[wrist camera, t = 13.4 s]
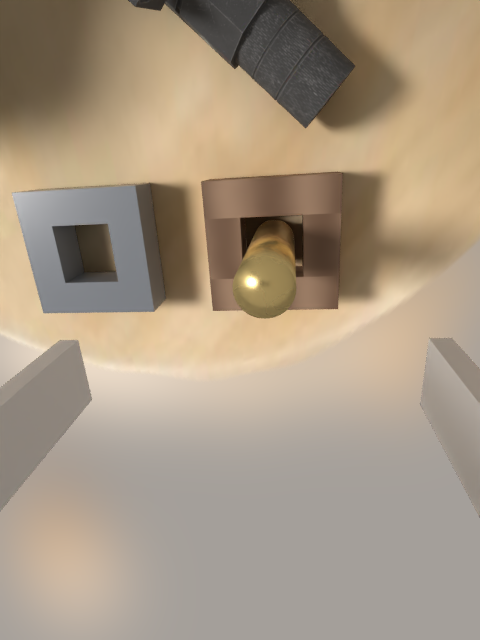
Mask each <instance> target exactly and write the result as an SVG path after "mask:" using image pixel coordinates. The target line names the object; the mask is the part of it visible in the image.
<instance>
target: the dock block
mask: <svg viewBox="0 0 480 640" xmlns="http://www.w3.org/2000/svg"><path fill="white" fill-rule="evenodd" d="M342 182H343V173H340V172H326V173H309V174H293V175H276V176H259V177H242V178H225V179H210V180H206V181H202V182H201V185H202V196H203V207H204V218H205V229H206V240H207V251H208V262H209V272H210V283H211V294H212V305H213V311H230V310H242V309H241V308H240V307H239V305H238V304H237V302H236V300H235V298H234V295H233V280H234V277H235V275H236V273H237V270H238V268H239V266H240V264H241V262H242V260H243V258H244V256H245V254H246V251H247V245H246V226H245V217H265V216H287V215H302V266H295V268H296V295H295V299H294V301H293V303H292V304H291V306H290V307H289V308H288V309H287V310H300V309H338V296H339V268H340V239H341V211H342Z"/></svg>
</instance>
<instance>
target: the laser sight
mask: <svg viewBox="0 0 480 640" xmlns="http://www.w3.org/2000/svg"><path fill="white" fill-rule="evenodd" d="M128 1H129V2H131V3H132V4H133V5H134V6H135V7H140V8H147V9H153V10H159V11H161V9H162V7H163V5H164V4H166V5H167V6H168V7H169V8H170V9H171V10H172V11H173V12H174V13H175V14H176V15H178V16H179V17H180V18H181V19H182V20H183V21H184V22H185V23H186V24H187V25H188V26H189V27H190V28H191V29H193V30H194V31H195V32H196V33H197V34H198V35H199V36H200V37H201V38H202V39H203V40H204V41H205V42H206V43H207V44H209V45H210V46H211V47H212V48H213V49H214V50H215V51H216V52H217V53H218V54H219V55H220V56H221V57H222V58H223V59H225V60H226V61H227V62H228V63H229V64H230V65H231V66H232V67H233V68H234V69H235V68H237V67H238V66H240V67H241V68H242V69H243V70H244V71H246V72H247V73H248V74H249V75H250V76H251V78H252V79H254V80H255V81H256V82H257V83H258V84H259V85H260V86H261V87H262V88H263V89H265V90H266V91H267V92H268V93H269V94H270V95H271V96H272V97H273V98H274V99H275V100H277V102H278V103H279V104H280V105H281V106H283V107H284V108H285V109H286V110H287V111H288V112H289V113H290V114H291V115H292V116H293V117H294V118H295V119H296V120H298V121H299V122H300V123H301V124H302V125H303V126H304V127H305V128H306V127H307V126H308V125H309V124H310V123H311V122H312V120H313V119H314V118H315V117H316V115H317V114H318V113H319V112H320V110H321V109H322V108H323V107H324V106H325V104H326V103H327V102H328V101H329V99H330V98H331V97H332V95H333V94H334V93H335V92H336V90H337V89H338V88H339V87H340V85H341V84H342V83H343V82H344V80H345V79H346V78H347V76H348V75H349V74H350V72H351V71H352V70H353V69H354V67H355V65H354V64H353V63H352V62H351V61H350V60H349V59H348V58H347V57H346V56H345V55H344V54H343V53H342V52H340V51H339V50H338V49H337V47H336V46H335V45H334V44H333V43H332V42H331V41H330V40H329V39H328V38H327V37H326V36H324V35H323V33H322V32H321V31H320V30H319V29H318V28H317V27H316V26H315V25H314V24H313V23H312V22H311V21H310V20H309V19H308V18H307V17H306V16H305V15H304V14H303V13H302V12H300V10H299V9H298V8H297V7H296V6H295V5H294V4H293V3H292V2H291V1H290V0H128Z"/></svg>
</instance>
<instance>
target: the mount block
mask: <svg viewBox="0 0 480 640" xmlns="http://www.w3.org/2000/svg"><path fill="white" fill-rule="evenodd" d="M12 195H13V199H14V203H15V207H16V211H17V214H18V218H19V222H20V226H21V229H22V233H23V237H24V241H25V245H26V248H27V252H28V256H29V260H30V264H31V267H32V271H33V275H34V279H35V283H36V286H37V290H38V294H39V298H40V301H41V305H42V309H43V313H90V312H154V311H155V310H156V309H157V308H158V307H159V306H160V305H161V303H162V302H163V301H164V300H165V299H166V296H165V288H164V281H163V274H162V267H161V259H160V252H159V245H158V238H157V230H156V223H155V216H154V209H153V201H152V194H151V187H150V183H141V184H124V185H107V186H91V187H74V188H57V189H40V190H31V191H22V192H14V193H12ZM91 224H108V228H109V233H110V239H111V244H112V250H113V255H114V261H115V266H116V271H114V272H84V268H83V263H82V258H81V254H80V249H79V244H78V240H77V235H76V230H75V226H74V225H91Z"/></svg>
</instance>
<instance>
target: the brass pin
mask: <svg viewBox="0 0 480 640" xmlns="http://www.w3.org/2000/svg"><path fill="white" fill-rule="evenodd" d="M233 295H234V298H235V300H236V302H237V304H238V305H239V307H240V308H241V309H242V310H243V311H245V312H246V313H247V314H249V315H251V316H254V317H257V318H273V317H276V316H278V315H281V314H282V313H284V312H285V311H286V310H287V309H288V308H289V307H290V306H291V304H292V303H293V301H294V299H295V295H296V268H295V245H294V234H293V231H292V229H291V228H290V227H289V226H288V225H287V224H286V223H285V222H283V221H280V220H269V221H266V222H264V223H263V224H261V225H260V226H259V227H258V229H257V230H256V233H255V235H254V237H253V239H252V241H251V243H250V245H249V247H248V249H247V251H246V254H245V256H244V258H243V260H242V262H241V264H240V266H239V268H238V270H237V273H236V275H235V277H234V280H233Z"/></svg>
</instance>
